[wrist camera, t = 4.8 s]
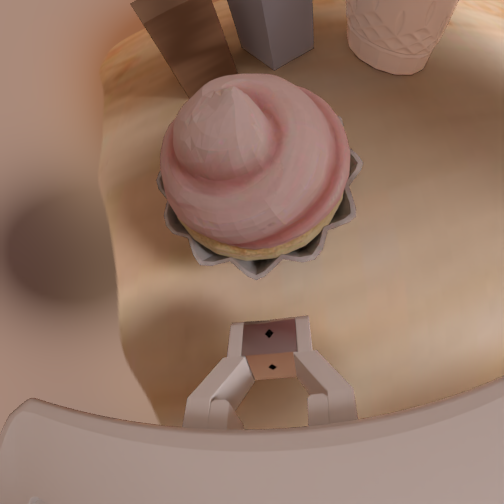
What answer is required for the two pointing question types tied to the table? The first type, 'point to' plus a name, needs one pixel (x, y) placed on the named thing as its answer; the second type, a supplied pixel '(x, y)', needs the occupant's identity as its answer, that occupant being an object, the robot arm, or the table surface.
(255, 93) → the cupcake
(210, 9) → the walnut block
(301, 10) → the slate-blue block
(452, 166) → the table surface
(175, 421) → the table surface
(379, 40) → the white cup
